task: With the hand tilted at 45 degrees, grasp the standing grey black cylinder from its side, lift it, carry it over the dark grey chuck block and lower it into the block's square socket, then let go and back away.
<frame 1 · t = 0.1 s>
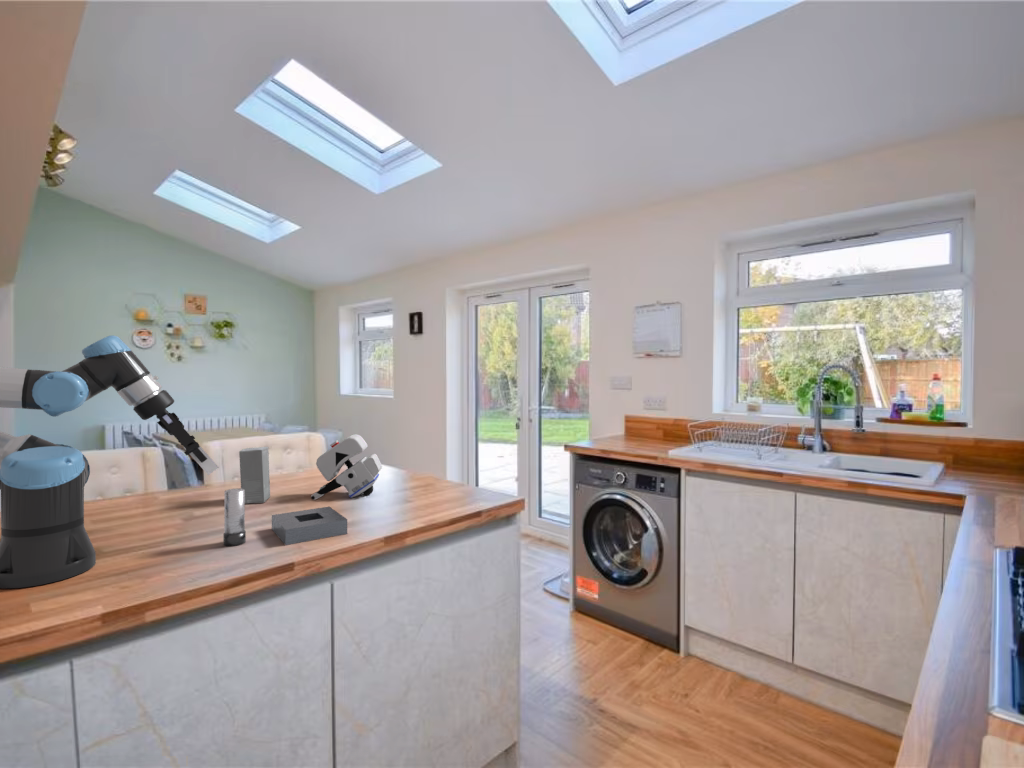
hand: (209, 467, 124), 15 cm above the countertop, tool tilted 35°, fingers open, 13 cm apart
grey black cylinder: (234, 543, 114), on the countertop
robotic device: (348, 496, 159), on the countertop
chuck block: (309, 531, 123), on the countertop
product box: (255, 501, 151), on the countertop
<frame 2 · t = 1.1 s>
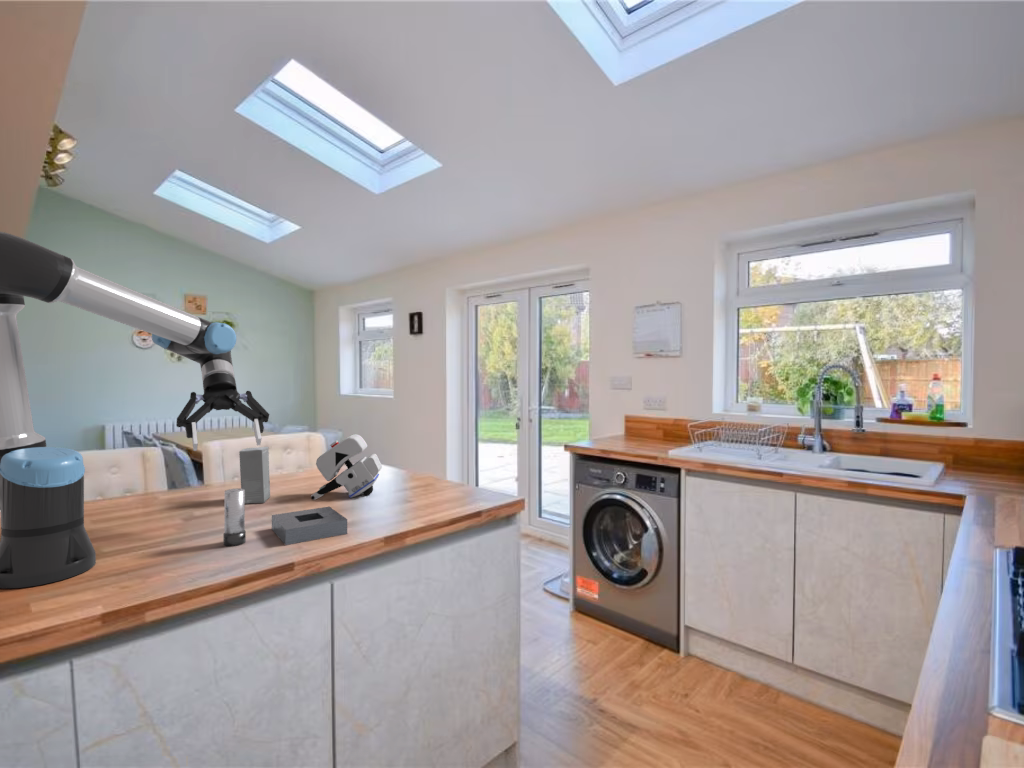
hand: (228, 444, 122), 21 cm above the countertop, tool tilted 45°, fingers open, 13 cm apart
nothing on the countertop moved.
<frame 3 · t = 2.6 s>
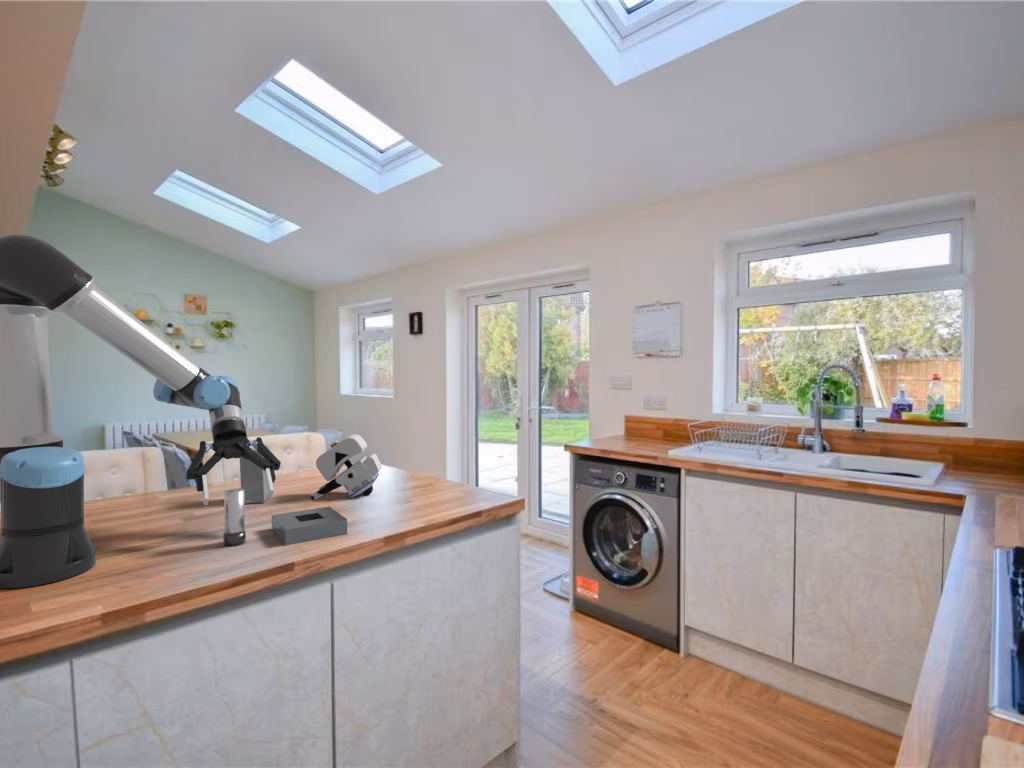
hand: (240, 497, 118), 9 cm above the countertop, tool tilted 45°, fingers open, 13 cm apart
nothing on the countertop moved.
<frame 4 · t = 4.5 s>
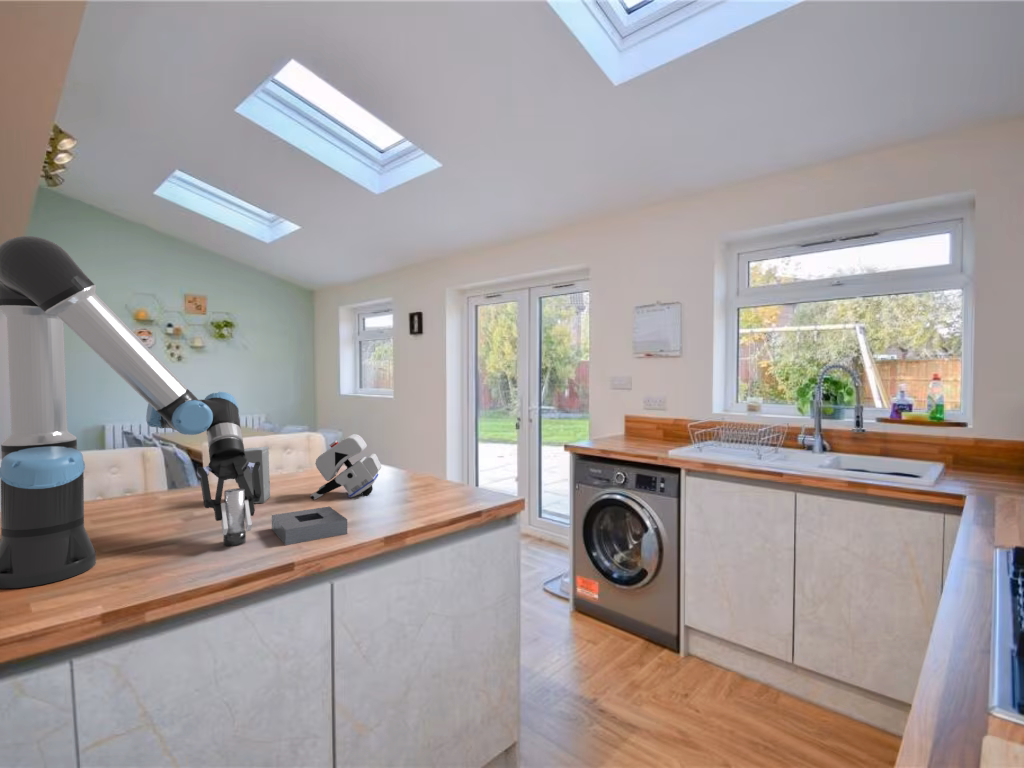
hand: (237, 529, 111), 4 cm above the countertop, tool tilted 45°, fingers closed on grey black cylinder, 4 cm apart
grey black cylinder: (234, 542, 114), on the countertop, touching gripper
everything else where it was.
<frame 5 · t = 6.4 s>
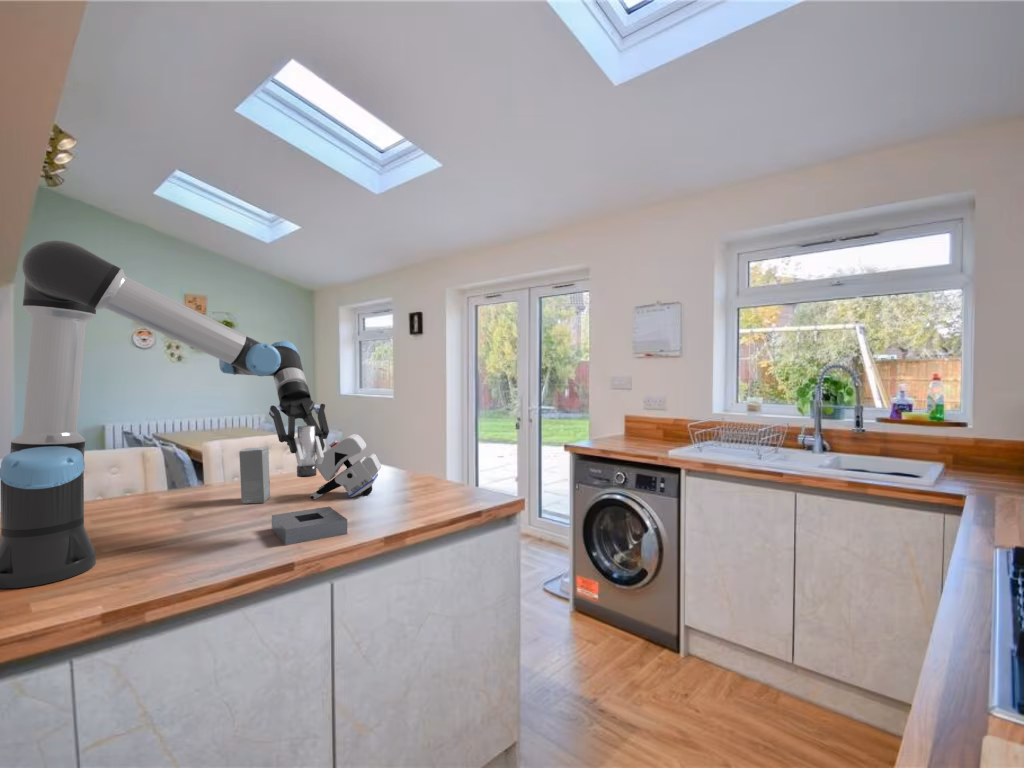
hand: (311, 461, 120), 18 cm above the countertop, tool tilted 45°, fingers closed on grey black cylinder, 4 cm apart
grey black cylinder: (306, 475, 123), point 14 cm above the countertop, touching gripper
everything else where it was.
when the fingers open (6 cm above the countertop, at t = 8.4 s): grey black cylinder drops 2 cm, resting in chuck block.
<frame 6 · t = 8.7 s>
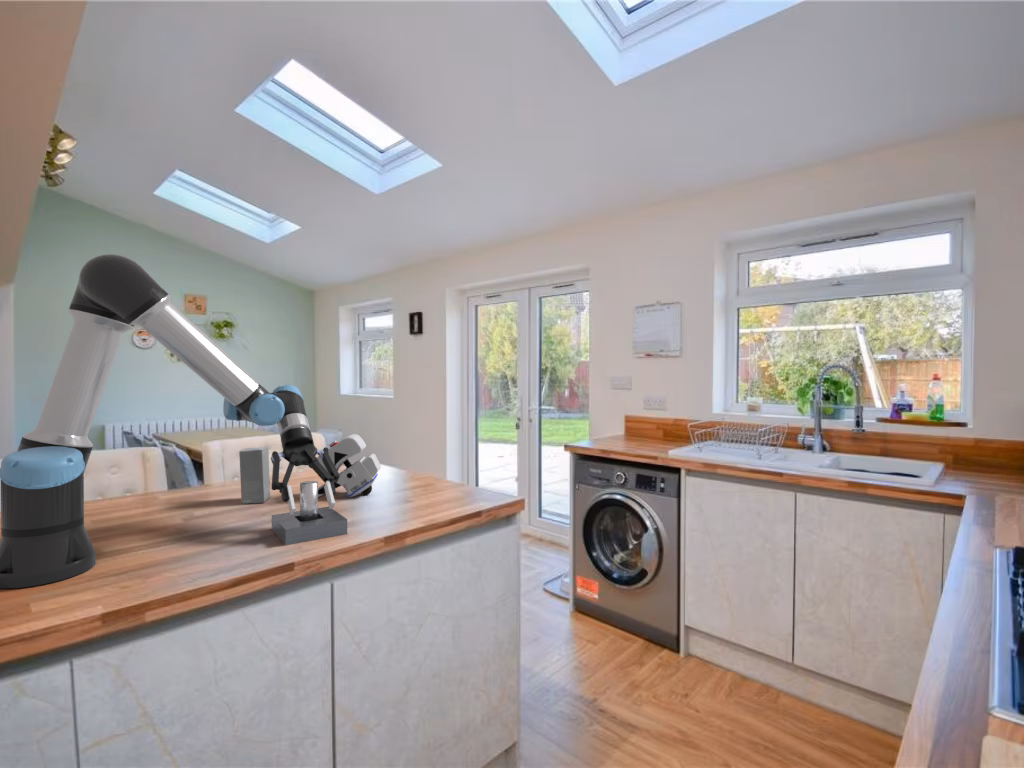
hand: (313, 508, 120), 6 cm above the countertop, tool tilted 45°, fingers open, 8 cm apart
grey black cylinder: (308, 531, 123), resting in chuck block
everything else where it was.
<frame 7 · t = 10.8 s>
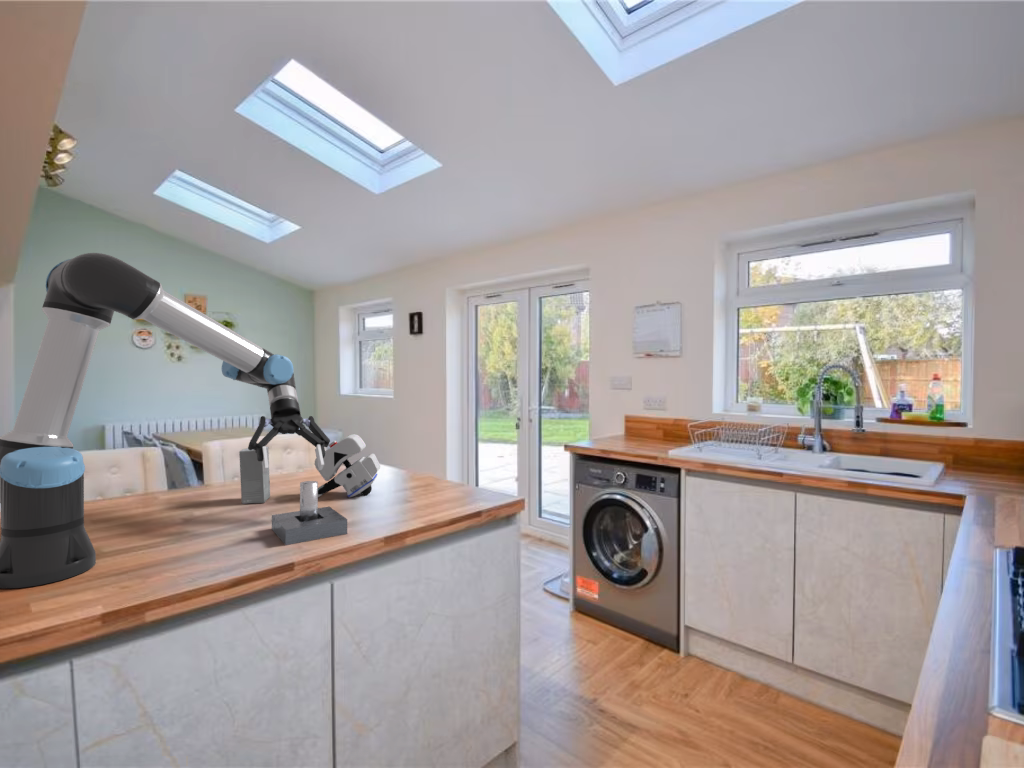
hand: (294, 469, 131), 14 cm above the countertop, tool tilted 40°, fingers open, 13 cm apart
nothing on the countertop moved.
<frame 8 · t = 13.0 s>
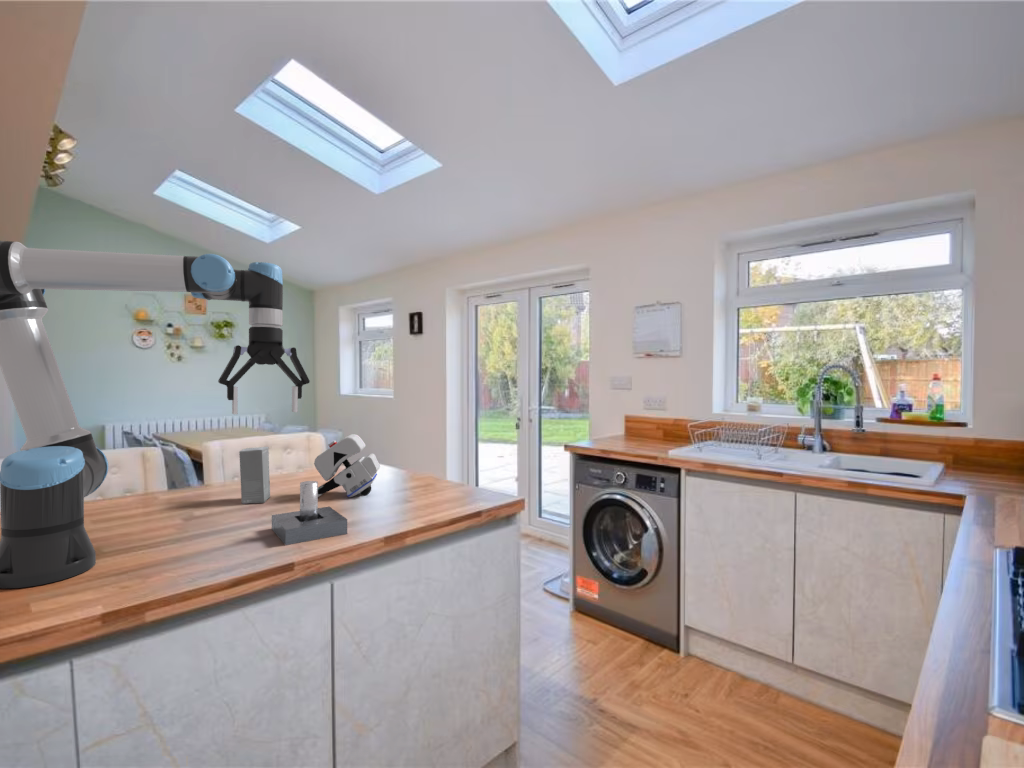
hand: (265, 413, 125), 29 cm above the countertop, tool pointing down, fingers open, 13 cm apart
nothing on the countertop moved.
at the end: grey black cylinder 0.1 cm off-centre on the chuck block, point 0.0 cm above the chuck block's base; grey black cylinder tilted 0°; the gripper is holding nothing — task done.
